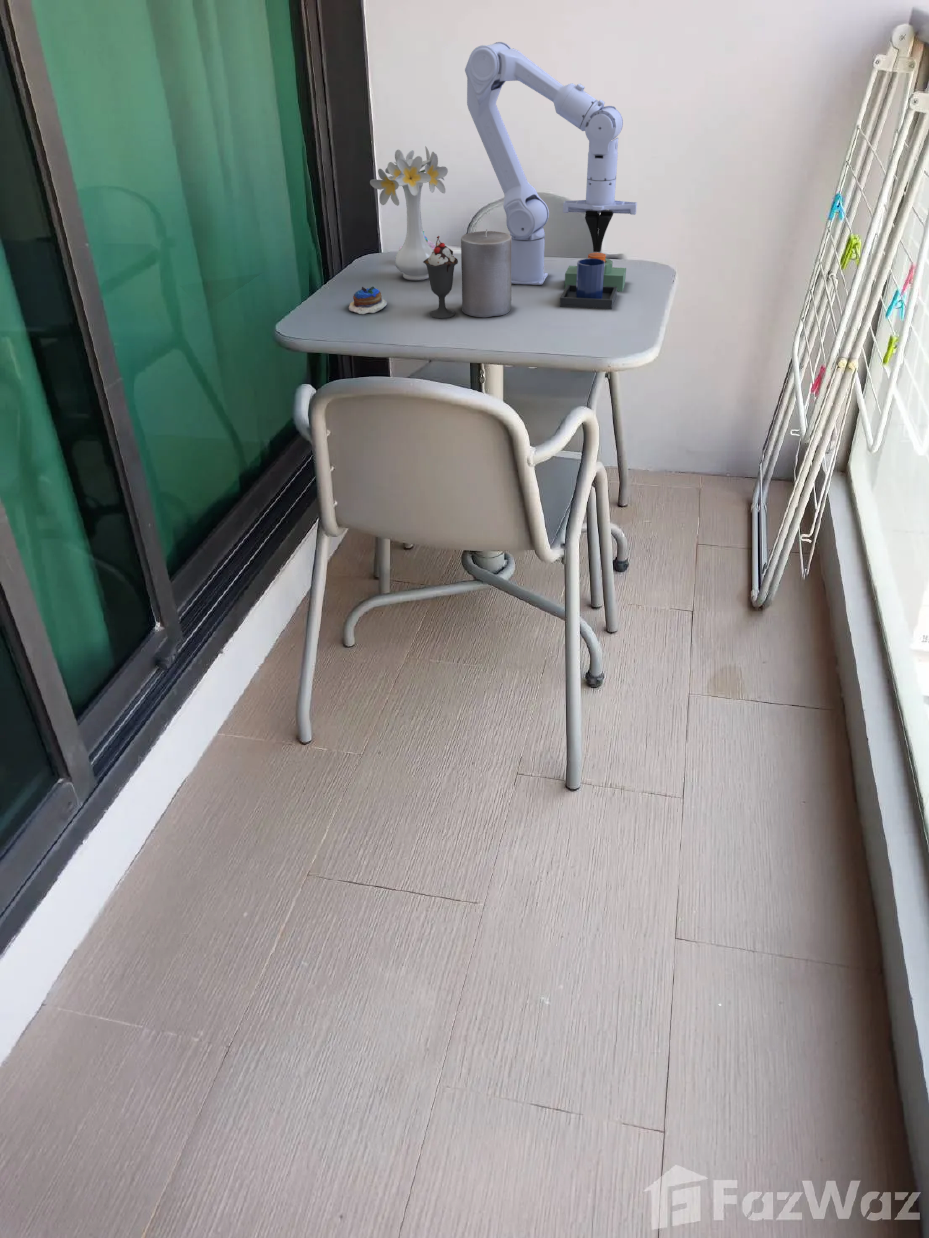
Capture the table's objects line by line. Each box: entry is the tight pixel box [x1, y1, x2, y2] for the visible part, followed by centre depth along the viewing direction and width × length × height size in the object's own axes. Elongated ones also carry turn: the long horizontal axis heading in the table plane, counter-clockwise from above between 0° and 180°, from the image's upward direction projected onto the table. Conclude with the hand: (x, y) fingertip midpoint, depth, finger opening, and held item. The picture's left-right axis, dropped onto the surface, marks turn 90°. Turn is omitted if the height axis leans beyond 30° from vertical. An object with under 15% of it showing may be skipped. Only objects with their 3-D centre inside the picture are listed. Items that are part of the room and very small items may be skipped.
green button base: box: [564, 257, 627, 293], centre depth 188 cm, size 12×6×5 cm, turn 76°
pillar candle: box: [460, 229, 512, 318], centre depth 173 cm, size 10×10×15 cm
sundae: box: [423, 235, 459, 319], centre depth 172 cm, size 7×7×15 cm
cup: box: [576, 258, 605, 299], centre depth 178 cm, size 5×5×7 cm
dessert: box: [348, 286, 388, 315], centre depth 180 cm, size 8×7×6 cm
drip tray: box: [559, 285, 618, 310], centre depth 180 cm, size 10×9×2 cm
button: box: [587, 252, 607, 262], centre depth 186 cm, size 4×4×2 cm
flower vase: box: [369, 145, 449, 281], centre depth 190 cm, size 13×18×25 cm
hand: (597, 250), depth 185 cm, fingers closed
